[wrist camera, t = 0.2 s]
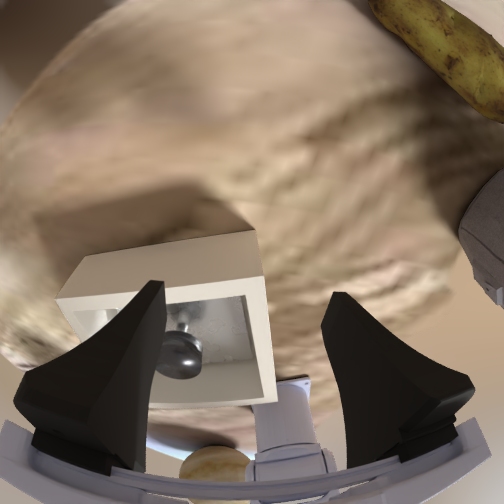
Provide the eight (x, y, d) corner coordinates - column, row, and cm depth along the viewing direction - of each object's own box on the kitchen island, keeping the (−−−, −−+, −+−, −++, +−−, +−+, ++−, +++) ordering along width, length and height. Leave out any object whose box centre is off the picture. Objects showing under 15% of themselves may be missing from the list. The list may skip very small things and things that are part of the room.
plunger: (252, 354, 27) (255, 395, 22) (149, 361, 27) (141, 399, 22) (234, 261, 21) (235, 305, 17) (105, 278, 21) (83, 318, 17)
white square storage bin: (271, 354, 28) (277, 401, 23) (142, 364, 28) (133, 406, 23) (255, 229, 21) (263, 275, 16) (85, 256, 21) (54, 299, 16)
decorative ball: (167, 437, 41) (162, 505, 28) (243, 431, 40) (248, 508, 27) (199, 458, 48) (199, 513, 35) (263, 452, 47) (269, 512, 34)
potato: (405, -26, 10) (463, -51, 3) (481, 92, 15) (544, 107, 8) (344, 3, 12) (401, -35, 5) (436, 134, 17) (505, 160, 10)
